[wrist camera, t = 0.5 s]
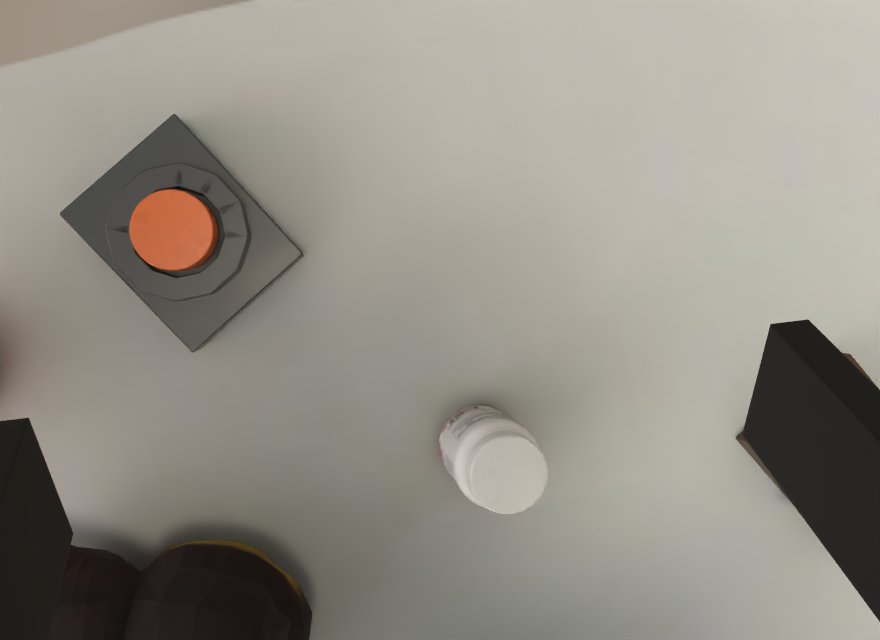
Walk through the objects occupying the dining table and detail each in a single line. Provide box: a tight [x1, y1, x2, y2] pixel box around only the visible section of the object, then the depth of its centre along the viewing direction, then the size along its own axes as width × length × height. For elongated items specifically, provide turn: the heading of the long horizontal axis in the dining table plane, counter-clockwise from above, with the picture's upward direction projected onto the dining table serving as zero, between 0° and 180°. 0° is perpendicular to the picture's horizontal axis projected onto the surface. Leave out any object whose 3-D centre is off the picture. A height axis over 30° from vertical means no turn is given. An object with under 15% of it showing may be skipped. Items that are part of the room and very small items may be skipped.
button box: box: [60, 114, 304, 352], centre depth 44 cm, size 10×8×4 cm
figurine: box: [48, 540, 312, 640], centre depth 43 cm, size 10×7×15 cm
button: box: [130, 189, 218, 271], centre depth 41 cm, size 4×4×2 cm
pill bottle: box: [439, 405, 548, 514], centre depth 45 cm, size 5×5×8 cm
